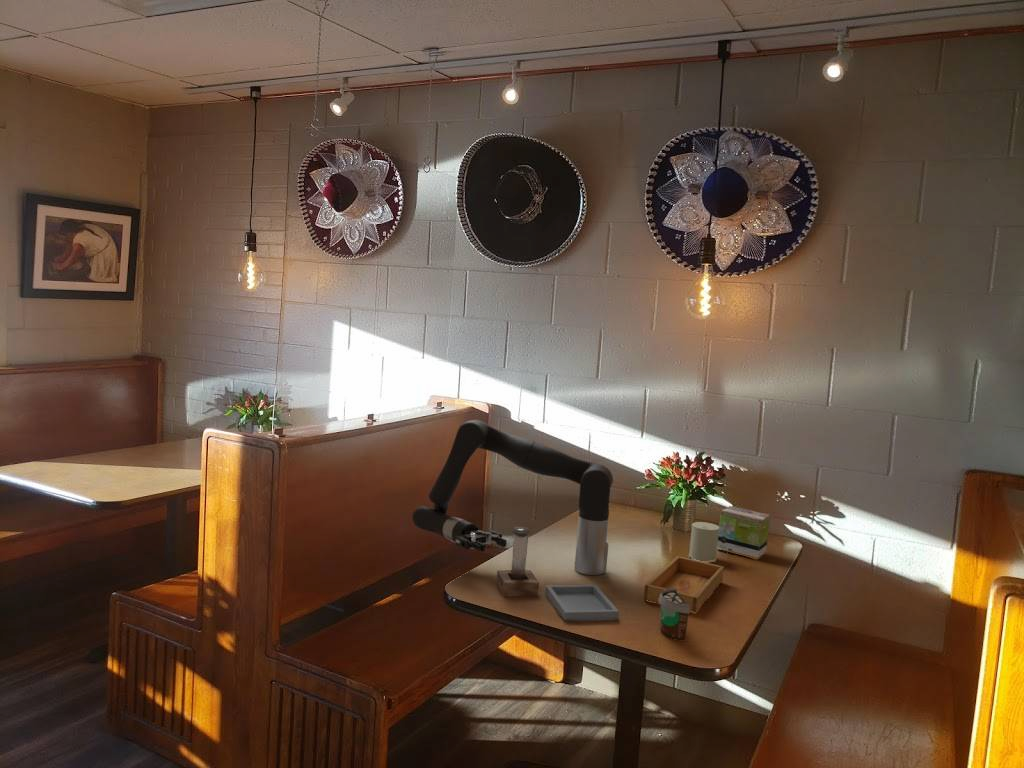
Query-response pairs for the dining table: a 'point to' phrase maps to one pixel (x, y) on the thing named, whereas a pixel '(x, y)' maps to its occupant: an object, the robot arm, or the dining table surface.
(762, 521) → the tea box
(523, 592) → the socket block
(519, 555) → the steel pin
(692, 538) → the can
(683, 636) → the food container
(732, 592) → the dining table surface
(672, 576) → the tray
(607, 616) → the pin tray
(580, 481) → the robot arm
